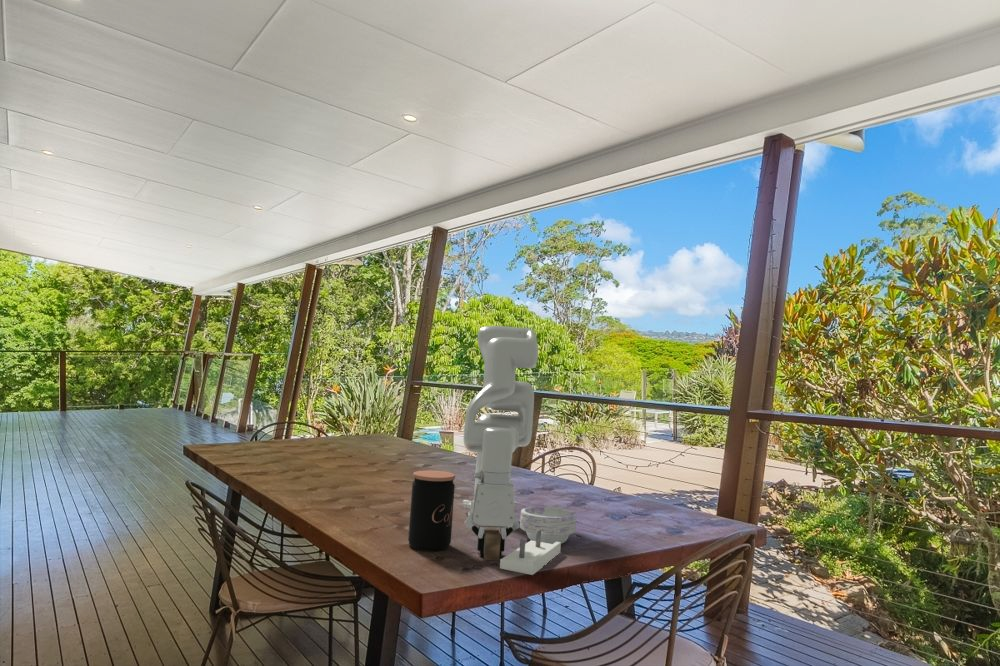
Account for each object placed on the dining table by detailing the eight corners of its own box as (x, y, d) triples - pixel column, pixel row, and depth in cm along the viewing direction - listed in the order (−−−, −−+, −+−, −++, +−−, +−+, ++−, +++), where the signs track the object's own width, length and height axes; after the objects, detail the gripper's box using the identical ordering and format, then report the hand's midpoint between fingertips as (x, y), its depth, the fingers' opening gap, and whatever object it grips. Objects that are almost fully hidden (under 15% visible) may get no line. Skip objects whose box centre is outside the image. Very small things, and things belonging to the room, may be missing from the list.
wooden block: (483, 559, 148) (485, 534, 148) (481, 551, 155) (482, 526, 155) (499, 560, 148) (501, 534, 148) (496, 551, 155) (498, 527, 155)
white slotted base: (499, 568, 142) (501, 541, 142) (530, 548, 160) (532, 524, 160) (532, 575, 138) (534, 547, 139) (560, 553, 157) (561, 529, 157)
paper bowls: (533, 530, 179) (534, 502, 179) (583, 539, 172) (584, 510, 172) (509, 541, 166) (511, 511, 166) (562, 552, 158) (564, 520, 159)
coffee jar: (432, 555, 149) (438, 479, 150) (398, 546, 154) (404, 472, 155) (458, 546, 158) (463, 474, 159) (425, 537, 163) (430, 468, 164)
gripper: (462, 479, 148) (457, 557, 147) (531, 482, 150) (526, 559, 149) (460, 474, 155) (455, 548, 154) (526, 477, 157) (521, 550, 156)
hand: (490, 553), depth 151 cm, fingers closed on wooden block, 3 cm apart
